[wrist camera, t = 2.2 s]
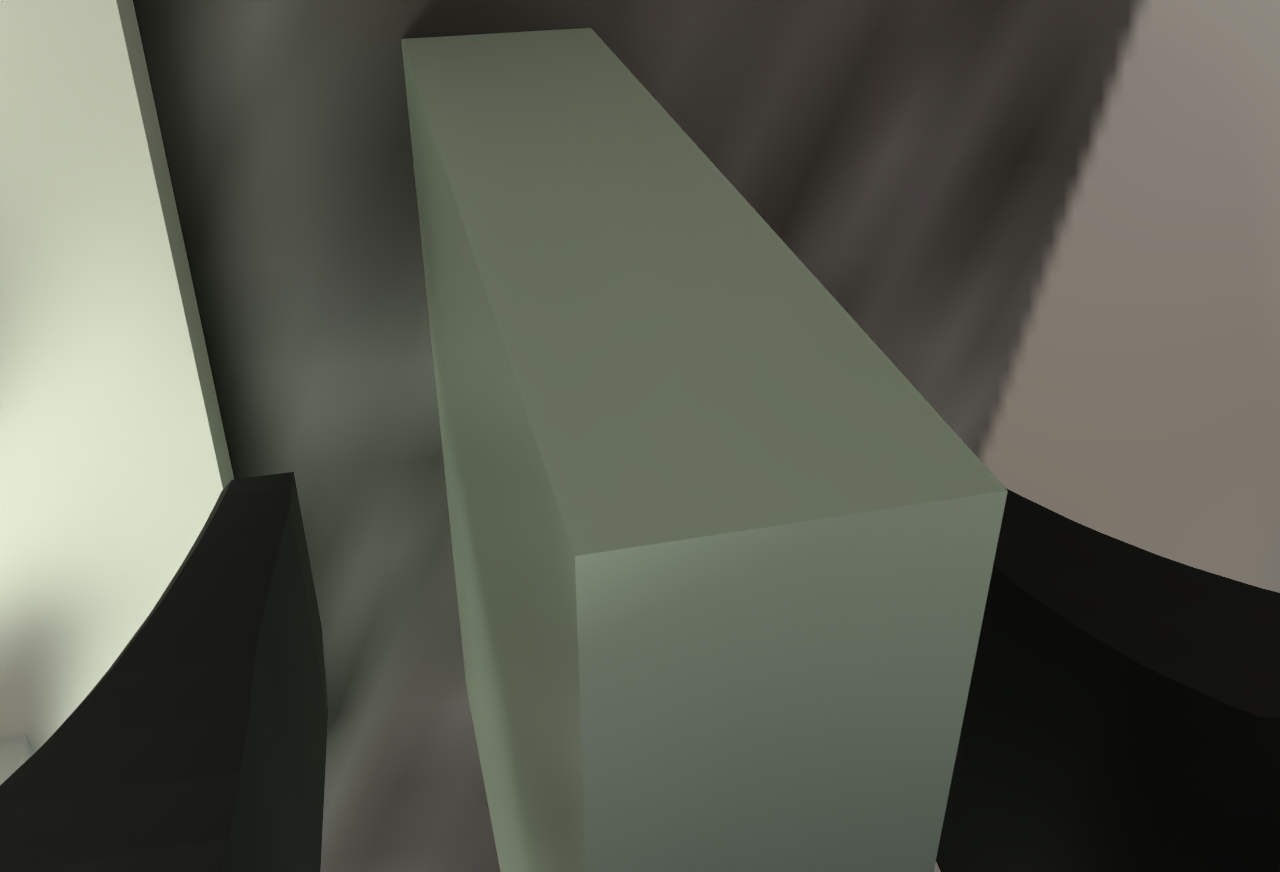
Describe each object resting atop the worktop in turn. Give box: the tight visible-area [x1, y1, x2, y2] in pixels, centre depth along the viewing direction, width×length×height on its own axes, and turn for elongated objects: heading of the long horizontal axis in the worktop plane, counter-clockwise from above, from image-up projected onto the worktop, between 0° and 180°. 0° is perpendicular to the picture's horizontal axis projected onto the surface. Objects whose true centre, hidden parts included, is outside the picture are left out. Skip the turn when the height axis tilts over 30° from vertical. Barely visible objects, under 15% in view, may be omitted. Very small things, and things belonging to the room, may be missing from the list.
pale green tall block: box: [401, 28, 1008, 872], centre depth 11 cm, size 2×9×9 cm, turn 179°
